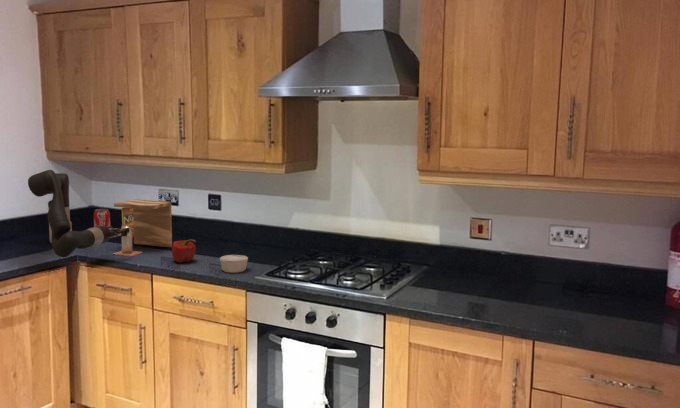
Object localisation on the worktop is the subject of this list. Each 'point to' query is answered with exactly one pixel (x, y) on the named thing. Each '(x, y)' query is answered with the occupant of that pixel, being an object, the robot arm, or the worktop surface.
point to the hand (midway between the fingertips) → (120, 229)
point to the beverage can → (101, 217)
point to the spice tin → (127, 241)
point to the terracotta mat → (127, 254)
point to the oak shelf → (151, 221)
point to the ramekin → (233, 263)
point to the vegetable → (183, 250)
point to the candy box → (128, 218)
